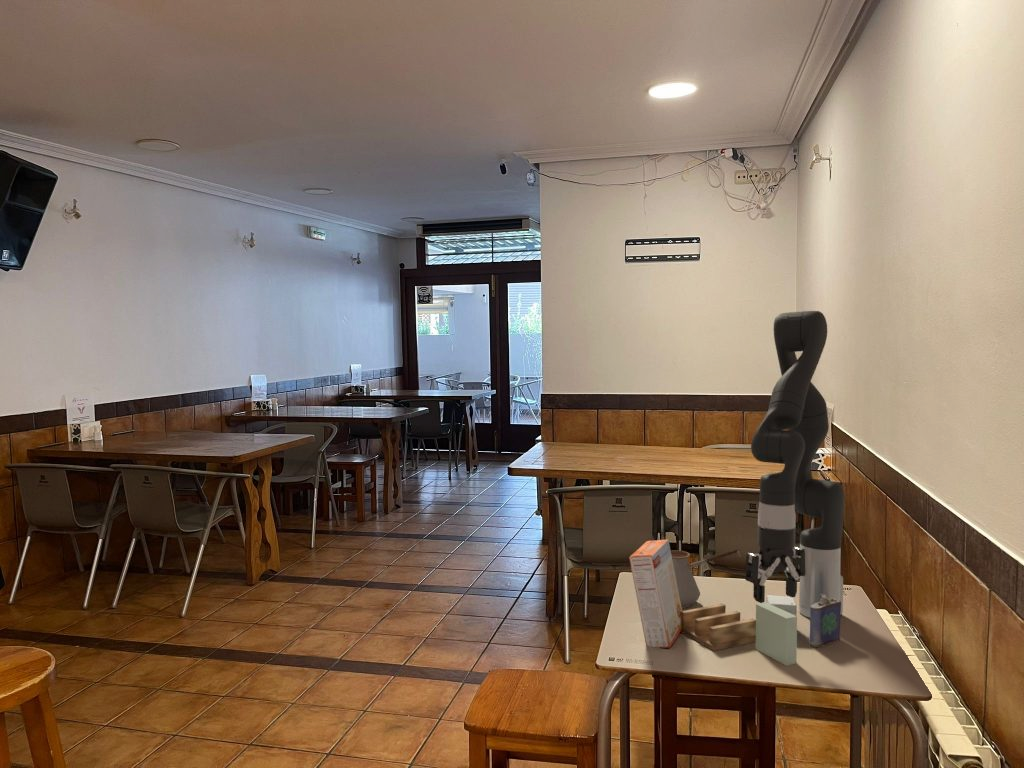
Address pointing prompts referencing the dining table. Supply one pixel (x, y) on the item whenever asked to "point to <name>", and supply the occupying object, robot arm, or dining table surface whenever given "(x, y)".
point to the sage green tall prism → (776, 633)
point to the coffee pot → (689, 575)
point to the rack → (717, 627)
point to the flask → (825, 621)
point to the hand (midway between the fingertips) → (775, 599)
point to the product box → (783, 603)
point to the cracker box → (657, 593)
